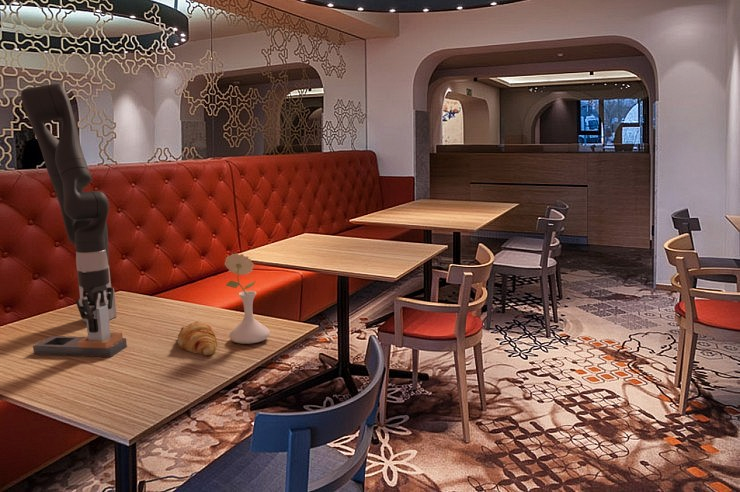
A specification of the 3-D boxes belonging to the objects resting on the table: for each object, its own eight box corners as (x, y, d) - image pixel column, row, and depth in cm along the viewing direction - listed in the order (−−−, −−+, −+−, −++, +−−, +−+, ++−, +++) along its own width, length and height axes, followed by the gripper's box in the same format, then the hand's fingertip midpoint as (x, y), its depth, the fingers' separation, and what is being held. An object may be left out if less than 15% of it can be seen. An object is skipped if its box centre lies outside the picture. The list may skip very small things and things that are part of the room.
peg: (111, 340, 161) (107, 305, 159) (102, 345, 157) (99, 309, 155) (97, 339, 161) (93, 304, 160) (88, 344, 158) (85, 308, 156)
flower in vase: (278, 336, 170) (274, 251, 165) (254, 349, 159) (249, 259, 155) (241, 331, 175) (236, 248, 171) (216, 343, 165) (210, 255, 160)
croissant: (223, 367, 157) (234, 339, 157) (189, 358, 150) (201, 329, 151) (193, 344, 173) (204, 319, 174) (162, 335, 167) (173, 309, 168)
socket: (126, 346, 163) (125, 332, 162) (110, 357, 155) (109, 342, 155) (53, 344, 166) (51, 330, 165) (33, 354, 158) (32, 340, 157)
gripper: (95, 261, 163) (100, 321, 166) (62, 273, 149) (69, 337, 152) (120, 261, 162) (125, 321, 165) (90, 273, 148) (96, 338, 151)
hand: (98, 329), depth 159 cm, fingers closed on peg, 4 cm apart
